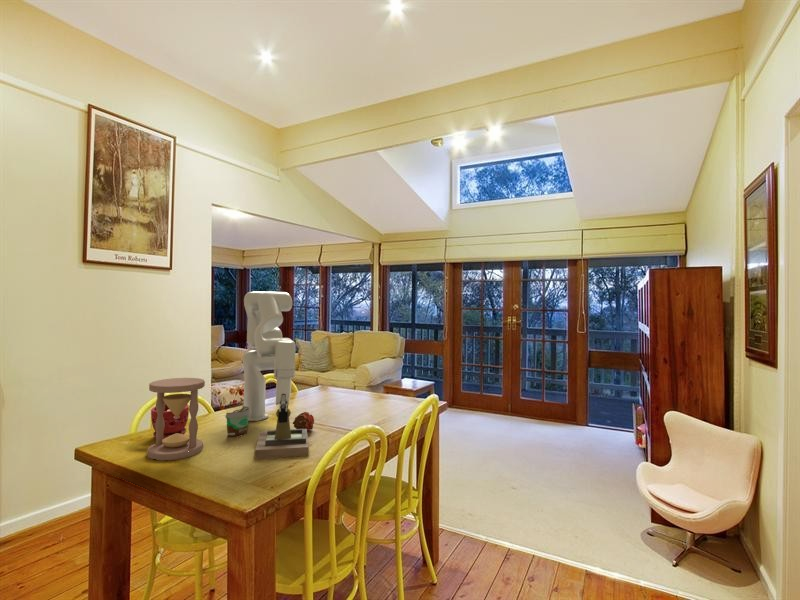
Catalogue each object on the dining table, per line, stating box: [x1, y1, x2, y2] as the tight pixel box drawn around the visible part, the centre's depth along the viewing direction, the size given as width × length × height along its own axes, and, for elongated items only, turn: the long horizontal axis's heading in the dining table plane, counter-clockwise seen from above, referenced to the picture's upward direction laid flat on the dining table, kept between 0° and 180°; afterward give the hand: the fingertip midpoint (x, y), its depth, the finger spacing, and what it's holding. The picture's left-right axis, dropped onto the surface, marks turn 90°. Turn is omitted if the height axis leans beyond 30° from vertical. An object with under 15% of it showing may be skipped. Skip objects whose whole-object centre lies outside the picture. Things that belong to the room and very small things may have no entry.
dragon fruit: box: [292, 411, 315, 431], centre depth 176 cm, size 8×8×12 cm
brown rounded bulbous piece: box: [275, 407, 291, 439], centre depth 156 cm, size 6×6×11 cm
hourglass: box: [146, 377, 206, 461], centre depth 148 cm, size 18×18×25 cm
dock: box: [254, 428, 310, 460], centre depth 155 cm, size 22×18×4 cm
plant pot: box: [150, 403, 190, 439], centre depth 165 cm, size 13×13×12 cm
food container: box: [225, 405, 251, 438], centre depth 169 cm, size 12×6×10 cm, turn 168°
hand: (283, 418), depth 156 cm, fingers open, 9 cm apart
